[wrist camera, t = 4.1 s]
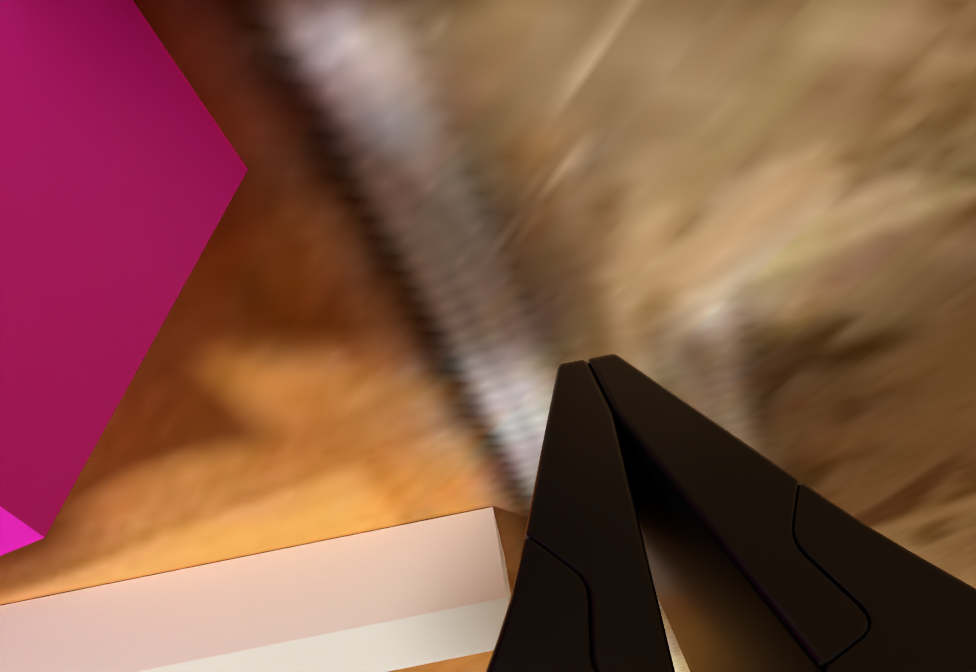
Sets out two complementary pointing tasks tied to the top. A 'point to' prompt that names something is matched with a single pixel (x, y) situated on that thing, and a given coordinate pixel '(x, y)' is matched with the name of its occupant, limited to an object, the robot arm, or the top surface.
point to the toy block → (89, 230)
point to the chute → (283, 608)
